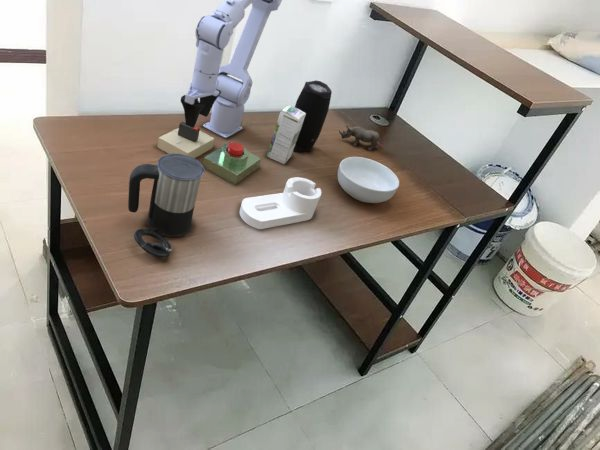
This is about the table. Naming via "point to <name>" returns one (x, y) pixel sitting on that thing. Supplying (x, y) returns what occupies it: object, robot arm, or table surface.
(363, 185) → the cereal bowl
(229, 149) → the button
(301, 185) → the bracket
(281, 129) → the syrup box
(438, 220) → the table surface
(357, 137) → the rhino figurine
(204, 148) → the dial panel
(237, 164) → the push button base
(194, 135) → the block
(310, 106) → the portable speaker
